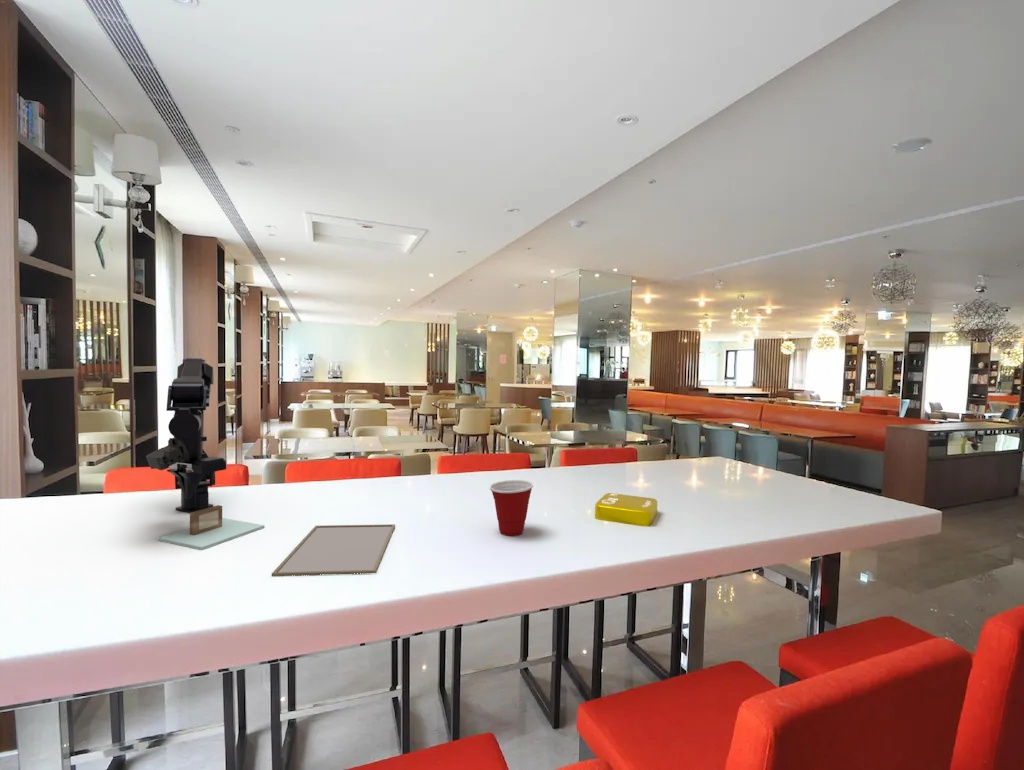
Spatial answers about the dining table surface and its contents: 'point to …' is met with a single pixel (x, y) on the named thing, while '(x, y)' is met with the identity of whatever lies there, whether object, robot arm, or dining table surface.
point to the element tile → (626, 509)
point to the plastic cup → (511, 505)
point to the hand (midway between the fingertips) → (188, 497)
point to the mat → (212, 534)
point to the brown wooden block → (205, 520)
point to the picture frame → (338, 550)
